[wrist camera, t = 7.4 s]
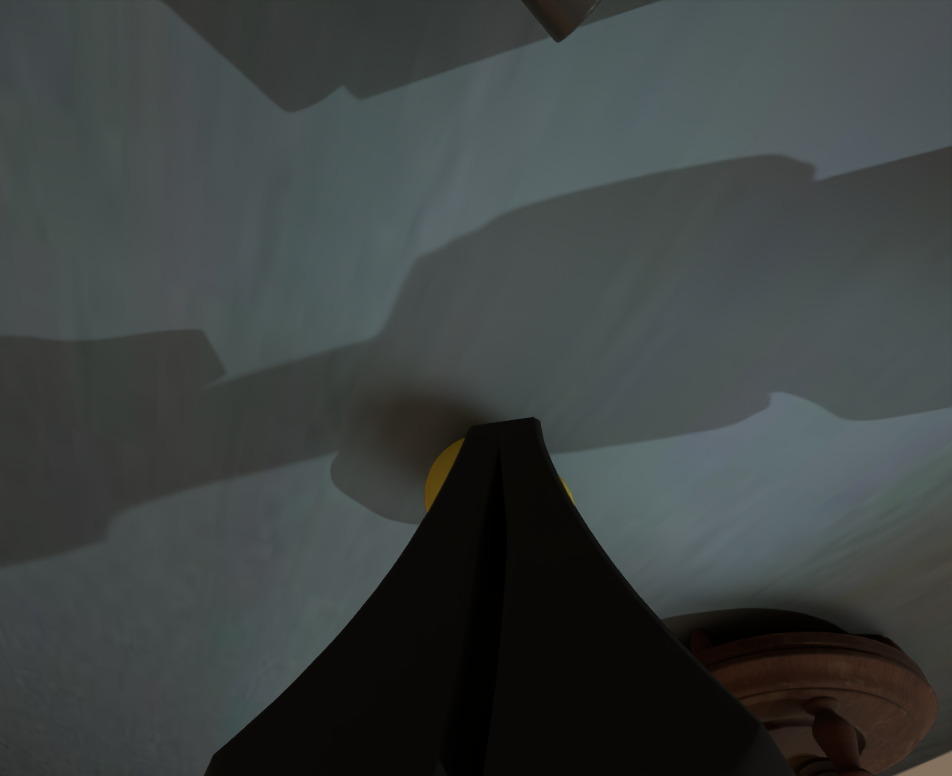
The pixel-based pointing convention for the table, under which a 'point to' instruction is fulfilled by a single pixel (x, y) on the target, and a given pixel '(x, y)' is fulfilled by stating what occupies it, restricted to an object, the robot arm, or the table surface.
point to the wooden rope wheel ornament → (827, 697)
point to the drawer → (560, 15)
